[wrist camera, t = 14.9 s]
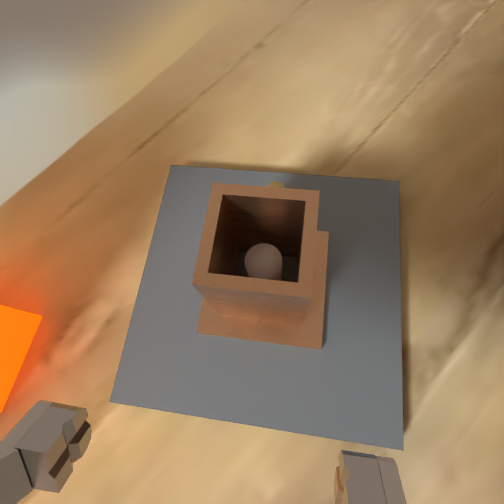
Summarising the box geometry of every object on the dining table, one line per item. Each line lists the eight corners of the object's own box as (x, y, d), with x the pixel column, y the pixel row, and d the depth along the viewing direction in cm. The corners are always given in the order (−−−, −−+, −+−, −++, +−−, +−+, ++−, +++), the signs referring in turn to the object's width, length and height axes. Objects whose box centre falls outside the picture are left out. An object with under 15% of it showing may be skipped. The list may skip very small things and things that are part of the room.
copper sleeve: (198, 333, 25) (156, 310, 17) (218, 224, 28) (192, 158, 20) (320, 350, 24) (341, 333, 16) (327, 234, 27) (348, 169, 19)
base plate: (118, 400, 25) (67, 407, 19) (176, 174, 32) (151, 126, 26) (396, 446, 23) (437, 470, 17) (393, 190, 30) (422, 141, 24)
